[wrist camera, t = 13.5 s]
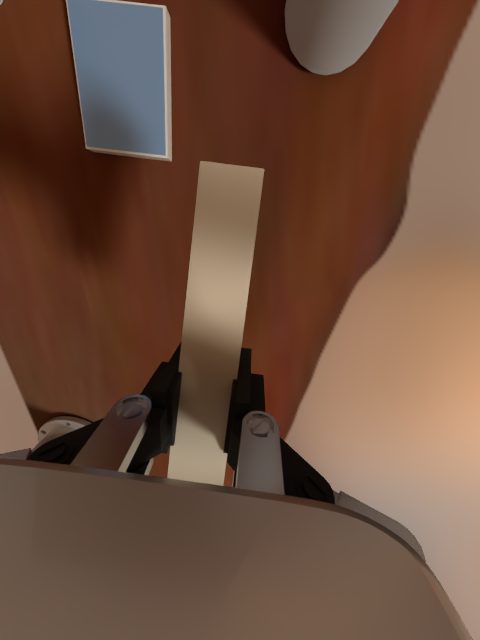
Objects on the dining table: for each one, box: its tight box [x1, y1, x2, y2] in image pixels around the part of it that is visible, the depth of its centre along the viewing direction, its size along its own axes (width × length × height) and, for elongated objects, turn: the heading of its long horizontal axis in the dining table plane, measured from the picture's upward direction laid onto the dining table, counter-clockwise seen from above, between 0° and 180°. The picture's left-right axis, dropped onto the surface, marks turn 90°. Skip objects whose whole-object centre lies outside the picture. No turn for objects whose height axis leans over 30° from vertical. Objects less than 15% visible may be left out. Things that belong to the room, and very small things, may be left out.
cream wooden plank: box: [167, 161, 264, 486], centre depth 11 cm, size 16×2×4 cm, turn 173°
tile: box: [66, 0, 172, 161], centre depth 20 cm, size 2×8×10 cm
